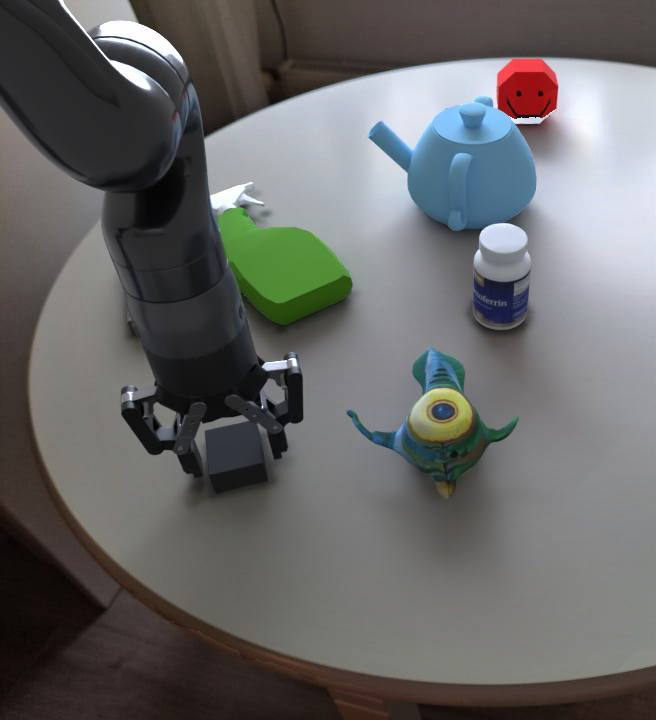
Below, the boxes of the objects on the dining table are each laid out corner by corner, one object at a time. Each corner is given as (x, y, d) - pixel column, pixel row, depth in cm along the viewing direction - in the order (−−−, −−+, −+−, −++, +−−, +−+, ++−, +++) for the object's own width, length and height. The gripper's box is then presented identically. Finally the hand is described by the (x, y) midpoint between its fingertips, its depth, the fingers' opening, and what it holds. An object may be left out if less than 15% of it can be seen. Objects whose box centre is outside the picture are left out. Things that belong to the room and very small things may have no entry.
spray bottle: (270, 335, 81) (179, 220, 95) (364, 293, 86) (263, 190, 100) (264, 313, 79) (172, 199, 93) (361, 272, 84) (259, 169, 98)
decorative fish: (538, 433, 73) (542, 389, 69) (447, 520, 66) (446, 477, 62) (433, 366, 79) (431, 321, 75) (341, 439, 72) (333, 395, 68)
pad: (215, 493, 68) (208, 475, 66) (210, 448, 71) (204, 430, 69) (268, 481, 69) (262, 462, 67) (261, 437, 72) (256, 418, 70)
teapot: (523, 260, 91) (530, 162, 81) (351, 239, 93) (339, 141, 84) (543, 166, 104) (551, 73, 95) (393, 150, 106) (386, 57, 97)
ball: (498, 132, 110) (500, 79, 104) (495, 103, 115) (496, 51, 110) (556, 132, 110) (561, 79, 105) (550, 103, 116) (555, 51, 110)
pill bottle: (461, 317, 84) (461, 240, 77) (492, 288, 87) (495, 212, 80) (507, 340, 82) (512, 263, 74) (537, 309, 85) (544, 232, 78)
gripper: (284, 268, 62) (313, 411, 74) (86, 304, 59) (150, 447, 71) (299, 333, 57) (328, 474, 69) (83, 376, 54) (153, 516, 66)
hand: (237, 460), depth 70 cm, fingers open, 6 cm apart
